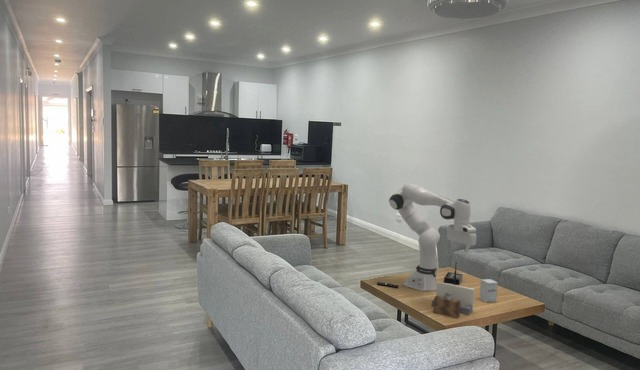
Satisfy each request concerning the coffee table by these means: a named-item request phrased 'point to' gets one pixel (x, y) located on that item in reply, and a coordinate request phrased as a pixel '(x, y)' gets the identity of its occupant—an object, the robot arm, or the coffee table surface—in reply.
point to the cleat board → (457, 295)
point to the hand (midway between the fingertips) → (460, 250)
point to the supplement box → (488, 290)
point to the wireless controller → (453, 278)
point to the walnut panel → (447, 305)
